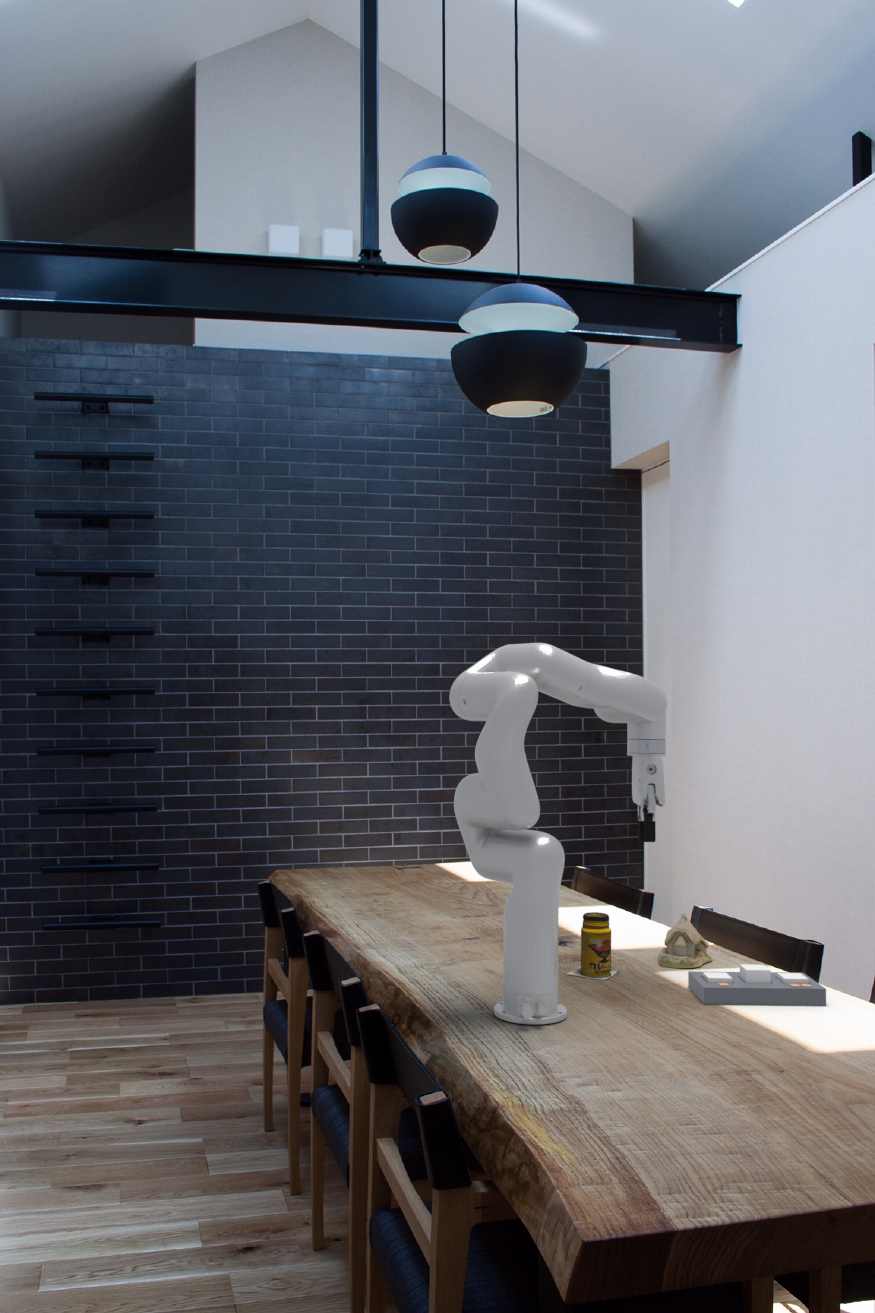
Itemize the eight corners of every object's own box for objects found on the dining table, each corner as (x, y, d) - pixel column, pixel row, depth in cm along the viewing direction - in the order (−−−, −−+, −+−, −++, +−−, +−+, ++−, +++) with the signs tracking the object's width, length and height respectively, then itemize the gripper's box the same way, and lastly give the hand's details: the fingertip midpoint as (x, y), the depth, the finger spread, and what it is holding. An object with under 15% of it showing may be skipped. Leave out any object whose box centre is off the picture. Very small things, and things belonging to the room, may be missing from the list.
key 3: (732, 997, 194) (732, 978, 194) (708, 997, 194) (708, 978, 194) (726, 991, 198) (726, 972, 198) (702, 991, 198) (702, 972, 198)
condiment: (605, 980, 207) (605, 918, 208) (565, 975, 211) (565, 914, 212) (618, 973, 213) (618, 913, 214) (579, 967, 217) (579, 908, 218)
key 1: (808, 998, 194) (808, 979, 194) (784, 998, 194) (784, 978, 194) (800, 992, 198) (800, 973, 198) (777, 992, 198) (777, 973, 198)
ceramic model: (662, 953, 232) (662, 907, 233) (714, 957, 228) (714, 910, 229) (651, 967, 219) (651, 918, 219) (707, 972, 215) (707, 922, 216)
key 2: (770, 989, 194) (770, 970, 194) (746, 989, 194) (746, 970, 194) (763, 983, 198) (763, 964, 199) (739, 983, 198) (739, 964, 199)
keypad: (826, 1005, 190) (825, 987, 190) (704, 1004, 190) (704, 986, 190) (803, 988, 202) (803, 971, 202) (688, 987, 202) (688, 970, 202)
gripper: (673, 750, 202) (673, 846, 201) (657, 747, 217) (657, 837, 216) (634, 749, 202) (634, 846, 201) (621, 747, 217) (621, 837, 216)
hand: (646, 841), depth 209 cm, fingers closed
